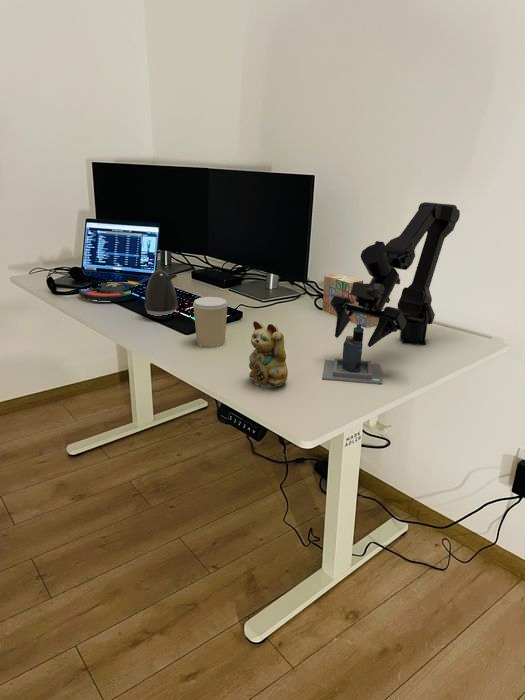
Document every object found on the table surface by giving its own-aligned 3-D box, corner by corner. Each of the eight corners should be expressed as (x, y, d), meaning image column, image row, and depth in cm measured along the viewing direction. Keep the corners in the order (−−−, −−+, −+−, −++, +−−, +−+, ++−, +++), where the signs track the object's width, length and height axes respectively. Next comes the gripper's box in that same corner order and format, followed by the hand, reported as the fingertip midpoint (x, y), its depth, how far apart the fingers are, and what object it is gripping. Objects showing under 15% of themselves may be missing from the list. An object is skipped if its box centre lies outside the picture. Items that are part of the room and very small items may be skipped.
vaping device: (354, 374, 131) (358, 327, 127) (339, 367, 135) (343, 321, 131) (362, 372, 133) (366, 325, 128) (347, 365, 137) (350, 319, 132)
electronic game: (131, 285, 211) (130, 273, 209) (156, 299, 193) (155, 286, 191) (71, 293, 198) (70, 280, 197) (92, 308, 181) (90, 294, 179)
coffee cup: (232, 339, 154) (232, 298, 150) (221, 350, 146) (220, 307, 142) (201, 335, 157) (200, 295, 152) (188, 346, 148) (187, 304, 144)
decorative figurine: (242, 382, 126) (242, 321, 121) (262, 371, 133) (263, 312, 128) (277, 393, 121) (279, 329, 116) (296, 381, 128) (298, 320, 123)
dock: (380, 365, 138) (380, 359, 138) (382, 384, 127) (382, 378, 127) (324, 361, 140) (325, 355, 140) (321, 379, 129) (322, 373, 129)
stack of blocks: (380, 325, 170) (384, 286, 165) (365, 328, 167) (369, 289, 162) (336, 308, 186) (338, 272, 182) (321, 310, 183) (323, 274, 179)
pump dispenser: (173, 323, 166) (171, 275, 161) (140, 321, 168) (137, 273, 163) (182, 314, 176) (181, 267, 170) (152, 312, 177) (149, 266, 172)
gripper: (336, 262, 133) (307, 315, 130) (406, 275, 122) (376, 333, 118) (351, 288, 142) (324, 338, 138) (418, 302, 130) (390, 357, 126)
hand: (352, 341), depth 130 cm, fingers open, 9 cm apart
